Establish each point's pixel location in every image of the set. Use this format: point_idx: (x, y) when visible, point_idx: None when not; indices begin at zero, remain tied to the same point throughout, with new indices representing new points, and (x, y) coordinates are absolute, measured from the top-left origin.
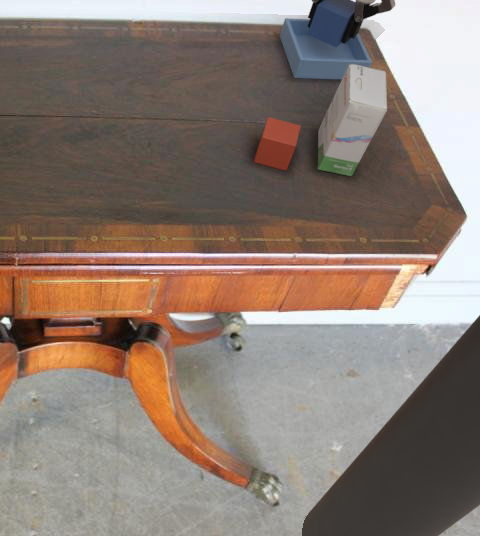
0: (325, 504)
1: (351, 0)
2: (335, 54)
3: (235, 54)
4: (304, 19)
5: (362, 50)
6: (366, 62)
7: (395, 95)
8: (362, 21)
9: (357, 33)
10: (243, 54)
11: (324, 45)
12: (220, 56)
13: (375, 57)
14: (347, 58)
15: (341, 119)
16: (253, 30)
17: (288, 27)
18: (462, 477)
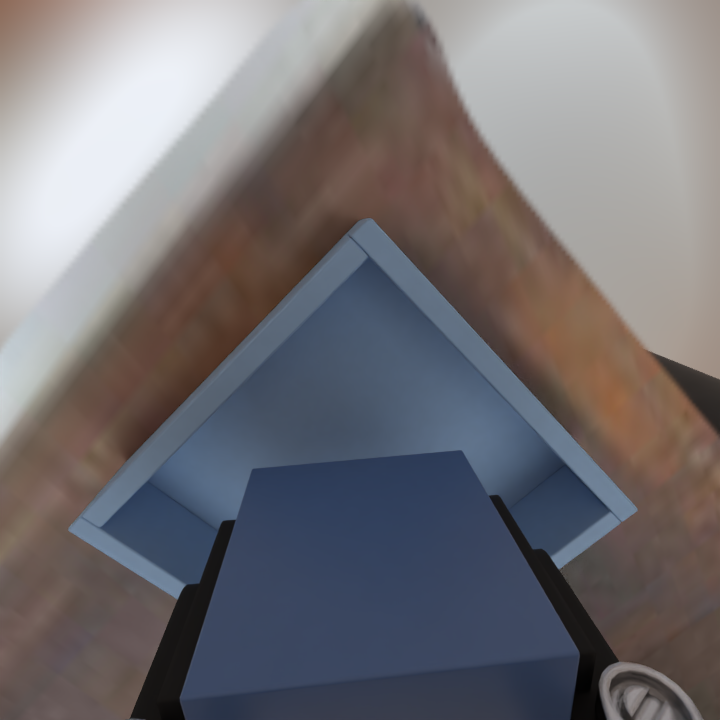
0: None
1: (438, 674)
2: (407, 429)
3: (116, 670)
4: (145, 458)
5: (553, 450)
6: (611, 529)
7: (711, 437)
8: (603, 646)
9: (545, 555)
10: (134, 651)
11: (329, 407)
12: (93, 710)
13: (554, 250)
14: (466, 414)
15: None
16: (19, 511)
17: (148, 580)
18: None
